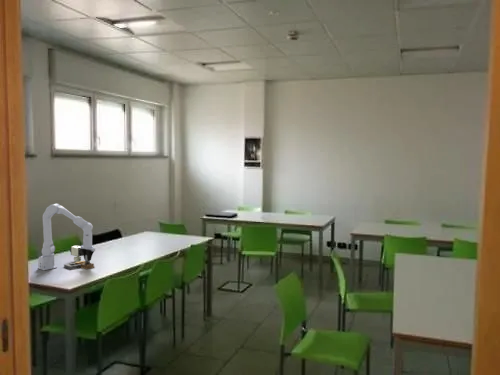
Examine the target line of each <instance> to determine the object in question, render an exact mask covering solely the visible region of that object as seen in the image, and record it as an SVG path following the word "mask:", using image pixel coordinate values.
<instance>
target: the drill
mask: <svg viewBox="0 0 500 375" xmlns="http://www.w3.org/2000/svg"><path fill="white" fill-rule="evenodd" d="M84 261H85V265H89V264H90V263H91V260H90V261H88V260H87V254H86V255H85V260H84Z"/></svg>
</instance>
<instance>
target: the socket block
mask: <svg viewBox="0 0 500 375" xmlns="http://www.w3.org/2000/svg"><path fill="white" fill-rule="evenodd" d="M63 268H65V269H67V270H76V269H80V268H81V264H77V265H75V262H73V263H72V262H71V263H66V264H63ZM81 269H82V268H81Z"/></svg>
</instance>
